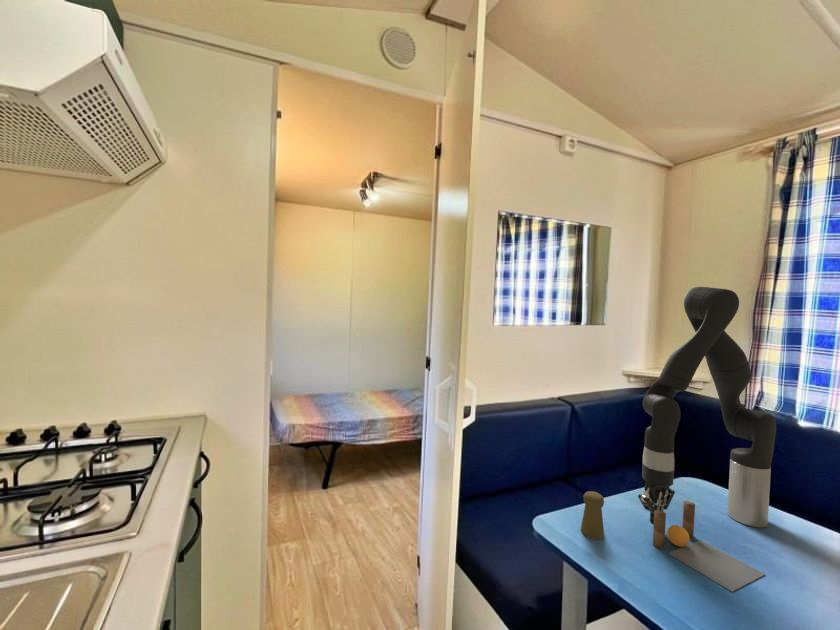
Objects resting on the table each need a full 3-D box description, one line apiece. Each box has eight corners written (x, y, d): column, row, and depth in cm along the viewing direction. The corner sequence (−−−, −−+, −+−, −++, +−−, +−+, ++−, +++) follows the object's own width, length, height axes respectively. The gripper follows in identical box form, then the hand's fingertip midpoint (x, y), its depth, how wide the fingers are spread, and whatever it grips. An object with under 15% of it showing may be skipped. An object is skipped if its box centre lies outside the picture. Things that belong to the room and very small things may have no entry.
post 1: (656, 541, 101) (658, 509, 101) (666, 547, 99) (668, 514, 99) (650, 544, 100) (652, 510, 100) (660, 550, 98) (661, 516, 97)
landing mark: (701, 540, 102) (701, 539, 102) (765, 574, 89) (765, 574, 89) (668, 553, 96) (668, 552, 96) (732, 592, 84) (732, 591, 84)
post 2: (685, 531, 106) (687, 500, 106) (695, 536, 104) (697, 504, 104) (680, 533, 105) (681, 501, 105) (689, 538, 103) (691, 506, 103)
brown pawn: (607, 540, 101) (608, 500, 101) (583, 537, 102) (584, 497, 102) (601, 527, 107) (602, 489, 107) (578, 524, 108) (579, 487, 108)
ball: (697, 538, 97) (688, 550, 99) (683, 520, 102) (674, 532, 104) (682, 539, 96) (672, 551, 98) (667, 521, 101) (659, 533, 103)
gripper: (660, 456, 112) (657, 513, 113) (630, 462, 107) (627, 522, 107) (686, 466, 105) (683, 526, 106) (655, 473, 100) (653, 537, 101)
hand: (655, 524), depth 107 cm, fingers closed
